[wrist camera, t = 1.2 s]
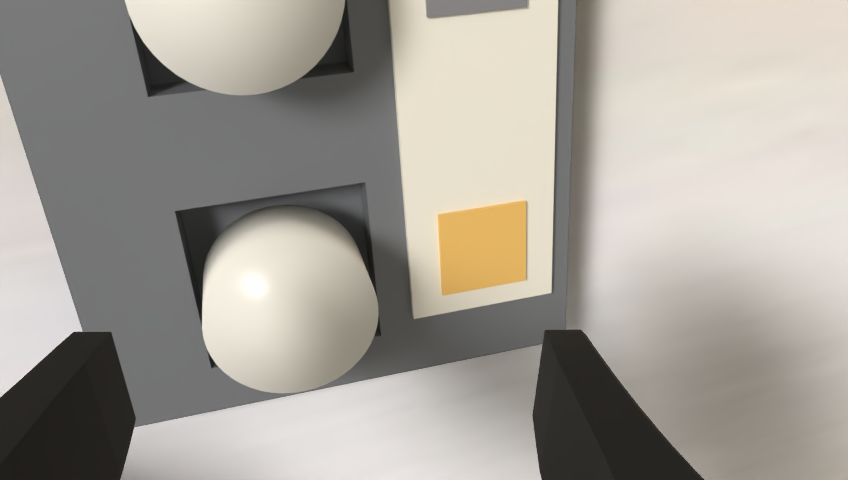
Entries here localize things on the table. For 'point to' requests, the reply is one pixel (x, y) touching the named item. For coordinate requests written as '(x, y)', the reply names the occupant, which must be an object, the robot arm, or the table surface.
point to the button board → (306, 178)
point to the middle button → (237, 39)
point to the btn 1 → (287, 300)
